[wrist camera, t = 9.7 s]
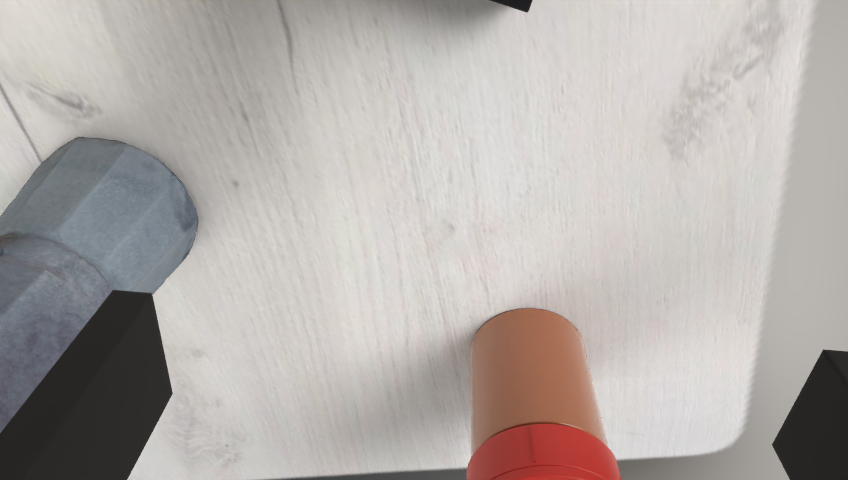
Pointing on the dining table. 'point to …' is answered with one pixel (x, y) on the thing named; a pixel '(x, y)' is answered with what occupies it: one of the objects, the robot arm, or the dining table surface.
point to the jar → (530, 376)
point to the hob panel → (516, 4)
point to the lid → (543, 455)
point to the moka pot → (82, 251)
